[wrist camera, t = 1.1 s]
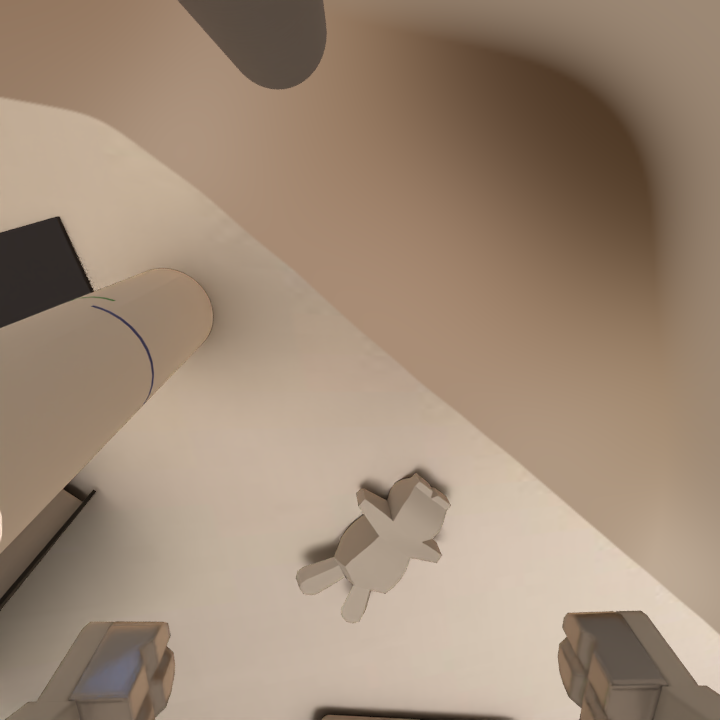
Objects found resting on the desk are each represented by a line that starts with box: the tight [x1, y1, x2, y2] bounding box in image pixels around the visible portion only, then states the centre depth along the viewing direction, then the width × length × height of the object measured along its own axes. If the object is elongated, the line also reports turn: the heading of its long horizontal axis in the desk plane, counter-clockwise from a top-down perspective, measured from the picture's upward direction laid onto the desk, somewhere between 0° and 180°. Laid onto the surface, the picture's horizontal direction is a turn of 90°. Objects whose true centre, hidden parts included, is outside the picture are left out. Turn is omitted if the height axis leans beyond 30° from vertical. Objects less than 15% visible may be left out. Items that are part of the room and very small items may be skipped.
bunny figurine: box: [296, 473, 451, 623], centre depth 44 cm, size 10×5×15 cm
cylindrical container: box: [0, 268, 213, 554], centre depth 26 cm, size 7×7×25 cm
